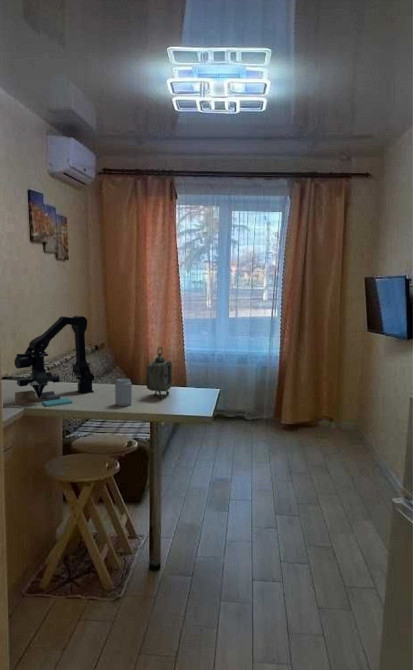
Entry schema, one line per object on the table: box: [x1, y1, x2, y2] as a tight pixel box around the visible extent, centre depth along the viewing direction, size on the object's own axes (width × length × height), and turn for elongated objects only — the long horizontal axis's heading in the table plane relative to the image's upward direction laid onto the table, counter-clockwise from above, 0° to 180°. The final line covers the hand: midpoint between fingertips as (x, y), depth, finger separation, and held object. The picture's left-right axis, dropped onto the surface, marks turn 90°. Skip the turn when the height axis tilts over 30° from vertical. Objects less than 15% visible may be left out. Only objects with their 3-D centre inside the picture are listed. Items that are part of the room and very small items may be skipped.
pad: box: [41, 397, 73, 408], centre depth 224 cm, size 12×7×1 cm, turn 125°
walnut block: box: [14, 389, 37, 406], centre depth 225 cm, size 8×5×5 cm, turn 127°
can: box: [114, 378, 133, 407], centre depth 222 cm, size 8×8×12 cm
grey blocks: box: [40, 390, 61, 401], centre depth 232 cm, size 6×11×2 cm, turn 35°
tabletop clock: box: [145, 346, 173, 400], centre depth 238 cm, size 14×9×25 cm, turn 167°
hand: (39, 398), depth 229 cm, fingers closed
